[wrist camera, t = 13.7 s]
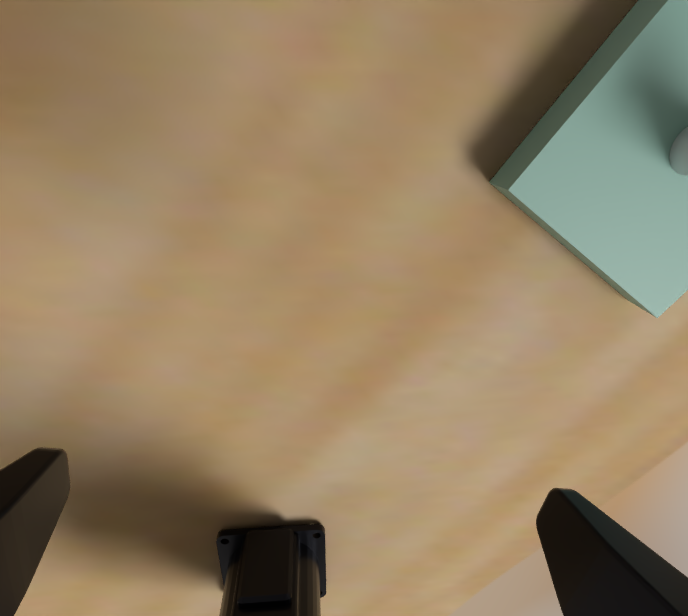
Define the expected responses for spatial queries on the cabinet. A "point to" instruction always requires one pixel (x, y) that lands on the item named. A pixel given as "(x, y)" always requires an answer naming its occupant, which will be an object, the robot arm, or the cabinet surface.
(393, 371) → the cabinet surface
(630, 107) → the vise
